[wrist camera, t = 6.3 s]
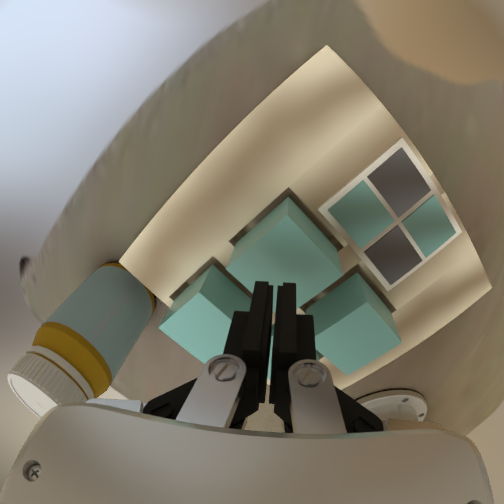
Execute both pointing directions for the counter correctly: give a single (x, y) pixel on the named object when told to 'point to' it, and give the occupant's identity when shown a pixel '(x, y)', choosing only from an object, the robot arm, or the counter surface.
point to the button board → (323, 206)
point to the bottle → (83, 341)
